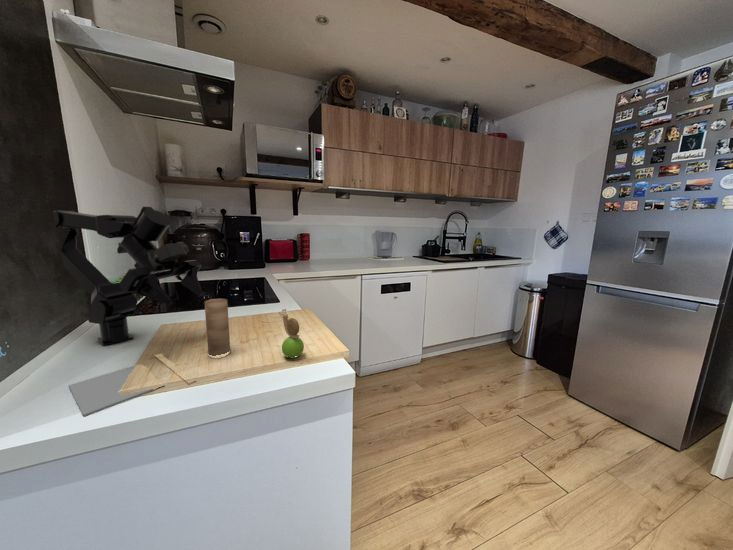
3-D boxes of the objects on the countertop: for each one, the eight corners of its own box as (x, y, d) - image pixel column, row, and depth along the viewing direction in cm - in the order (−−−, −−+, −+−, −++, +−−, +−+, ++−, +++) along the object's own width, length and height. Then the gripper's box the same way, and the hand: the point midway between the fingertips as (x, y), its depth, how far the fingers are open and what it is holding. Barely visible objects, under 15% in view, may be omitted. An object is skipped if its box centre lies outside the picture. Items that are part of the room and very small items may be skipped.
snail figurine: (293, 349, 76) (292, 306, 74) (308, 356, 72) (308, 311, 70) (275, 356, 72) (274, 311, 70) (290, 364, 68) (289, 316, 66)
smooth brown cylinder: (204, 354, 72) (200, 301, 69) (224, 348, 76) (221, 297, 73) (214, 360, 69) (210, 305, 66) (234, 353, 73) (231, 301, 70)
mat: (68, 387, 56) (68, 385, 56) (142, 364, 66) (142, 363, 66) (83, 416, 48) (83, 414, 48) (165, 386, 58) (164, 384, 58)
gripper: (121, 232, 60) (170, 285, 60) (192, 230, 78) (230, 271, 78) (99, 267, 63) (145, 318, 63) (172, 258, 81) (208, 297, 81)
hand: (187, 298), depth 71 cm, fingers open, 9 cm apart
